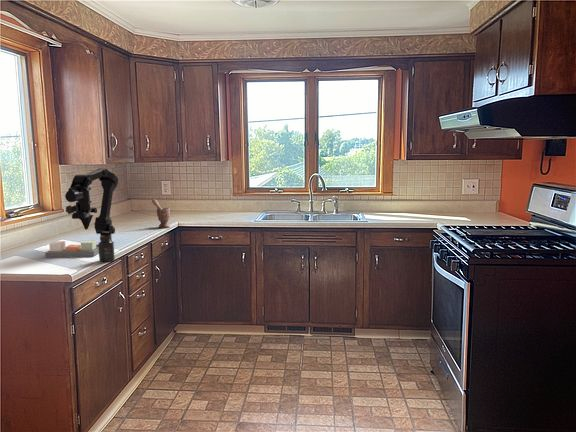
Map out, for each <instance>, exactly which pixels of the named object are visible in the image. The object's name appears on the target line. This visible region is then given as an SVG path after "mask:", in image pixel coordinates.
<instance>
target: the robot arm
mask: <svg viewBox="0 0 576 432" xmlns="http://www.w3.org/2000/svg"><path fill="white" fill-rule="evenodd" d="M95 180H98V181H100V182H101V183H100V185H101V187H102V190H103V192H102V199H101V205H100V212H99V216H98V217H97V216H96V217H95V220H94V229H95V233H96V234H97V235H100V236H103V235H110V236H111V241H113V240H112V237H113V236H112V235H113V234H115V233H116V228H115V227H114V226H113V220H112V219H111V216H110V215H111V210H112V209H111V207H112V202H113V201H112V200H113V194H114V191H115V189H117V187H118V183H119V177H117V175H116V174H115V173H113V172H111V171H109V169H107V168H101V167H100V168H97V169H95V170H92V171H90V172H87V173H83V174H80V173H79V174H75V175H74V176H73V178H72V181H71V184H70V187H69V188H68V189H67V191H66V193H65V195H64V198H65V201H67V202H69V203H74V202H75V205H67V206H65V213H67V214H68V215H71V220H74V219H76V220H77V219H79V220H80V221H81V223H82V226H83V228H84V230H88V229H89V227H90V224H91V222H92V219H93V217H94V214H97V213H98V208H97V207H93V206H91V203H93V202H92V200H91V197H90V190H92V187H90V185H91V184H93V181H95ZM93 213H94V214H93ZM100 236H99V237H100ZM113 243H114V244H115V242H114V241H113Z"/></svg>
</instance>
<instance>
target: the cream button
mask: <svg viewBox="0 0 576 432" xmlns="http://www.w3.org/2000/svg"><path fill="white" fill-rule="evenodd" d="M48 244H49V245H48V246H49V250H50V252H52V251H63V250H65V249H66V248H65V247H67V245H66V241H65V240H60V241H58V240H57V241H52V242H50V243H48Z"/></svg>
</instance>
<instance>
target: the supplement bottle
mask: <svg viewBox="0 0 576 432" xmlns="http://www.w3.org/2000/svg"><path fill="white" fill-rule="evenodd" d="M111 236H112V235H111ZM111 236H110V235H103V236H99V240H100V241H99V242H98V245H97V246H98V249H99V254H98V258H99V259H98V260H99V262H101V263H110V262H114V261H115V260H116V257H115V255H116V254H115V242H114V241H113V240H112V241H111ZM113 242H114V243H113Z"/></svg>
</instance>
